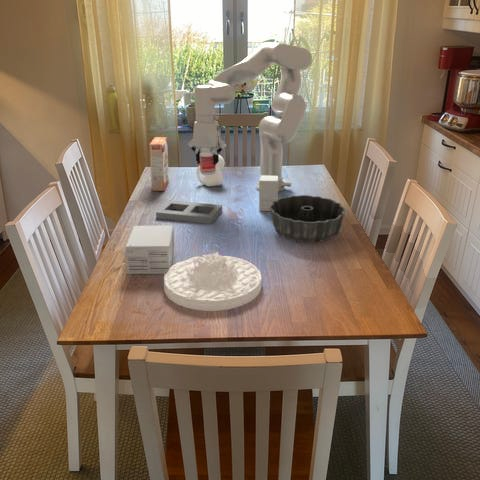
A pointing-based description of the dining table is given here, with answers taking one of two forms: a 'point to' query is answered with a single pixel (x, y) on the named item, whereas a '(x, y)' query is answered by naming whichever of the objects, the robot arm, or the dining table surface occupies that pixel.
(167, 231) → the supplement box
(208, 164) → the pill bottle
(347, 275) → the dining table surface
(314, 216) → the bundt pan
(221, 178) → the cat figurine
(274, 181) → the supplement box
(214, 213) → the rail
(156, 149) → the cracker box
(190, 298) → the cake
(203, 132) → the robot arm
